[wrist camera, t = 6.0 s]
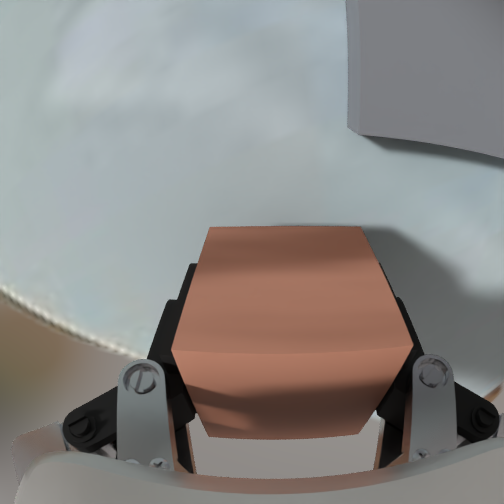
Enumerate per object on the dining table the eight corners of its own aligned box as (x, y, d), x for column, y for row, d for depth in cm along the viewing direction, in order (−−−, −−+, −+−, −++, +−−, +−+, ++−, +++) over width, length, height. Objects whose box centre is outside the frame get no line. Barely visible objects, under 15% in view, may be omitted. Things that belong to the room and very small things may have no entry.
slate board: (327, -119, 3) (332, -136, 2) (515, -46, 2) (532, -49, 1) (347, 127, 10) (358, 134, 8) (527, 160, 9) (546, 171, 8)
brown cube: (209, 227, 10) (170, 349, 6) (360, 226, 9) (413, 345, 5) (224, 329, 13) (208, 436, 8) (339, 328, 12) (358, 434, 8)
